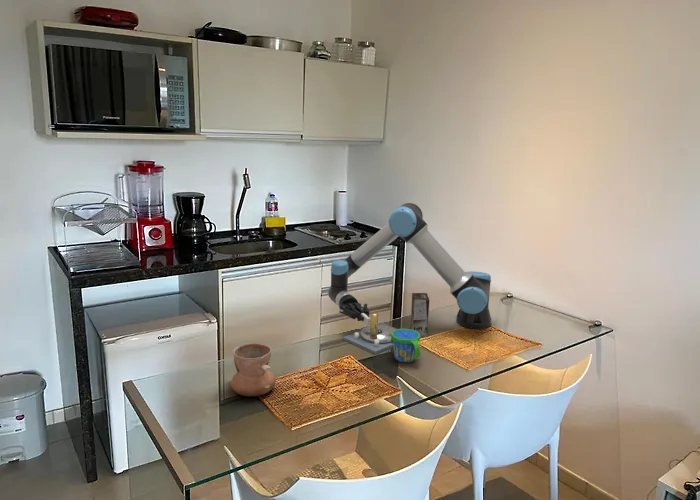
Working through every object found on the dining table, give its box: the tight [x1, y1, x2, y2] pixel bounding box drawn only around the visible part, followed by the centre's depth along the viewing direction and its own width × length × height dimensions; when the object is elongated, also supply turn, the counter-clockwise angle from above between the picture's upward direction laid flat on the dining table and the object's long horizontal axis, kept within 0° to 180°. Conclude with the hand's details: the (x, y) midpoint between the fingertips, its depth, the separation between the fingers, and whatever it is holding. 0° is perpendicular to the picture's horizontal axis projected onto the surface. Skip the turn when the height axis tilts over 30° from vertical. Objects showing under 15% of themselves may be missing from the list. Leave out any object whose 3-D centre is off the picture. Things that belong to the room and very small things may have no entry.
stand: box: [342, 322, 398, 355], centre depth 216 cm, size 18×23×4 cm
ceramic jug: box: [230, 342, 277, 398], centre depth 173 cm, size 18×14×14 cm
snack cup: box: [391, 328, 422, 364], centre depth 198 cm, size 16×10×10 cm
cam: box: [360, 312, 395, 343], centre depth 215 cm, size 15×15×12 cm
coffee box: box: [410, 292, 430, 337], centre depth 222 cm, size 9×6×16 cm
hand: (368, 322), depth 209 cm, fingers closed
